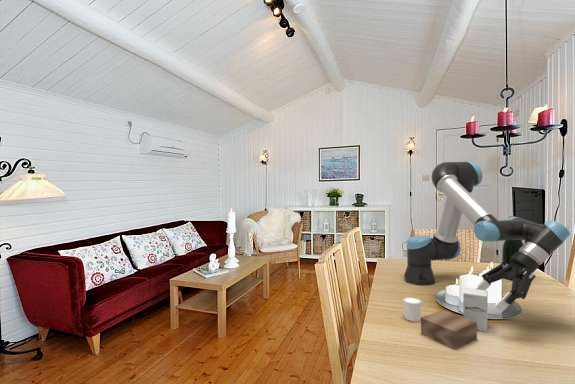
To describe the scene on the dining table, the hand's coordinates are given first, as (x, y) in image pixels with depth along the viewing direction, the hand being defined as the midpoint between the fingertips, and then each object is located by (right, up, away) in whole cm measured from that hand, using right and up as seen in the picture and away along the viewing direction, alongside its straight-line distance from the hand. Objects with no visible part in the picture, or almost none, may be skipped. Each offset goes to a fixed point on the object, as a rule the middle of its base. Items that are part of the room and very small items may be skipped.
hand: (485, 301), depth 109 cm
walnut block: (-16, -10, -6) cm, 20 cm away
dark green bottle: (+50, -7, +55) cm, 74 cm away
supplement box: (-3, -9, +1) cm, 10 cm away
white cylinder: (-22, -10, +9) cm, 26 cm away
